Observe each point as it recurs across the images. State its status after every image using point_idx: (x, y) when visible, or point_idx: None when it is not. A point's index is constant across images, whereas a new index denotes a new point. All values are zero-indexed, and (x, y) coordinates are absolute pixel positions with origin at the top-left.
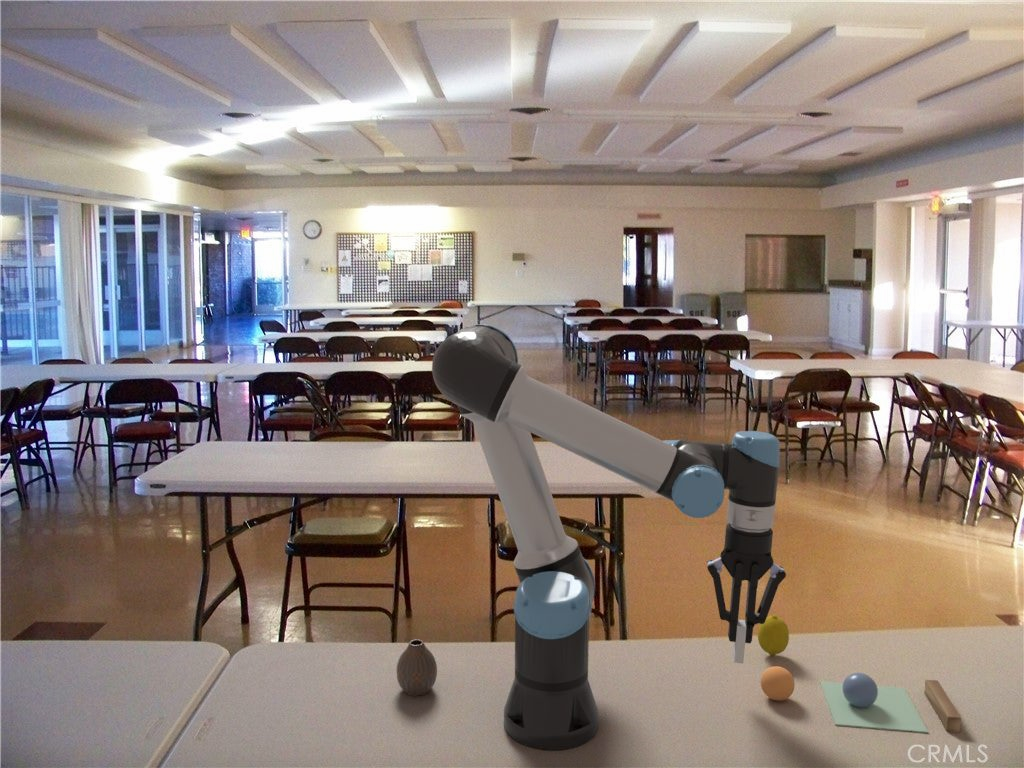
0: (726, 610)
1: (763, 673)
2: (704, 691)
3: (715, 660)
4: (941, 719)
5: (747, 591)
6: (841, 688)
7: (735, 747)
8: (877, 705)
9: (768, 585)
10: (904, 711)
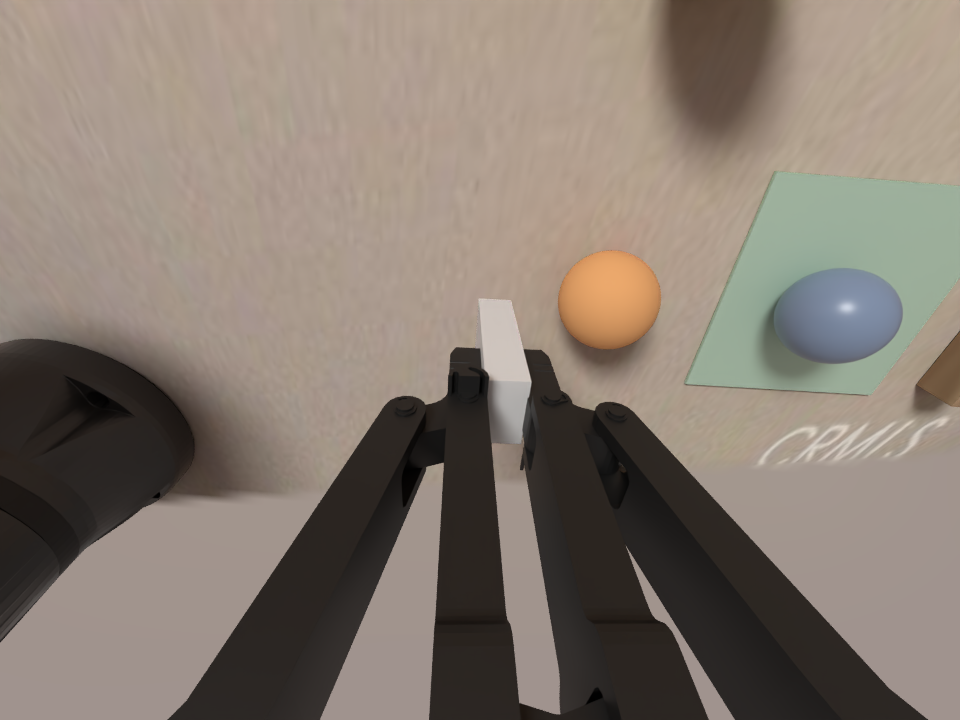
0: (424, 437)
1: (573, 301)
2: (404, 262)
3: (452, 8)
4: (948, 357)
5: (563, 546)
6: (815, 215)
7: None
8: None
9: (741, 661)
10: None
